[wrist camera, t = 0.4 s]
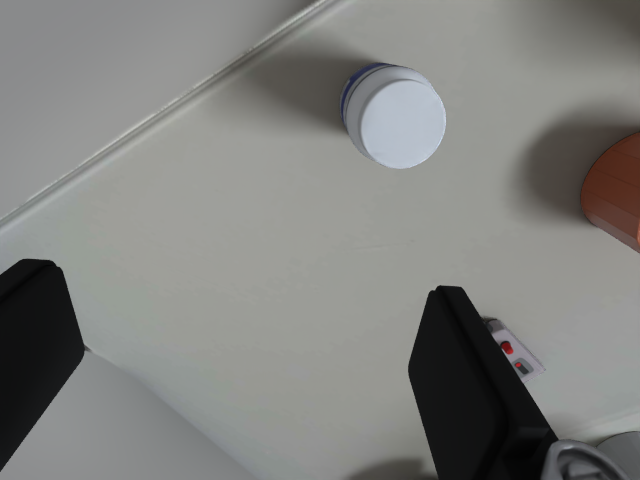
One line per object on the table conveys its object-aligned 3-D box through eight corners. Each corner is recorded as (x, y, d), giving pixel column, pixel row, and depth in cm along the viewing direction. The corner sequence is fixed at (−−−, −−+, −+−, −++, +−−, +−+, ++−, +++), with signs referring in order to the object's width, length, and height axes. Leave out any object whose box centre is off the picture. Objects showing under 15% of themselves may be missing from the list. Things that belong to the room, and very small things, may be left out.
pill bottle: (423, 113, 29) (473, 143, 20) (361, 153, 30) (382, 197, 21) (390, 44, 26) (428, 44, 18) (324, 91, 28) (330, 112, 19)
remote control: (500, 399, 45) (512, 421, 42) (425, 331, 40) (433, 351, 37) (549, 372, 43) (565, 393, 40) (477, 296, 37) (490, 315, 35)
